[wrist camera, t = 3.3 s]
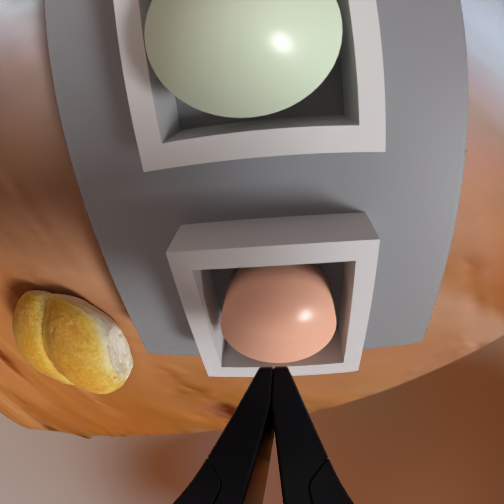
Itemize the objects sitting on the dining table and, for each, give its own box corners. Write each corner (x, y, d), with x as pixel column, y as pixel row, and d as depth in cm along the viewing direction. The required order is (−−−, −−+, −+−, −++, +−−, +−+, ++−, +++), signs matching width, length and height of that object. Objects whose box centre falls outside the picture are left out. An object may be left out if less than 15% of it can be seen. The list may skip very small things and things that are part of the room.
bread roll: (11, 279, 17) (-20, 317, 13) (112, 290, 16) (81, 343, 13) (54, 358, 21) (35, 394, 18) (147, 377, 20) (132, 423, 17)
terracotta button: (332, 248, 11) (339, 278, 9) (328, 328, 13) (332, 360, 11) (218, 255, 11) (209, 286, 10) (235, 332, 13) (230, 363, 12)
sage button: (318, -36, 5) (328, -59, 4) (335, 104, 7) (350, 112, 6) (162, -15, 5) (136, -31, 4) (181, 118, 8) (159, 130, 6)
